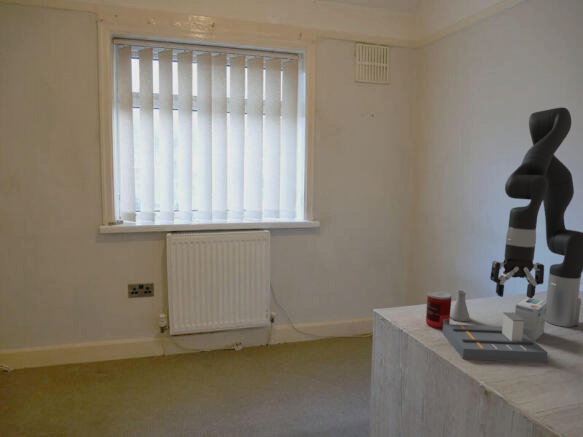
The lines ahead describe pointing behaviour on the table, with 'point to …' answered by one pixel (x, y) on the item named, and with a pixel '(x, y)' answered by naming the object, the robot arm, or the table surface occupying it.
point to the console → (491, 344)
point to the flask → (460, 308)
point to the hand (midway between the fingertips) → (514, 296)
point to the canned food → (438, 309)
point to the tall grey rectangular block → (512, 326)
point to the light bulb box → (532, 316)
